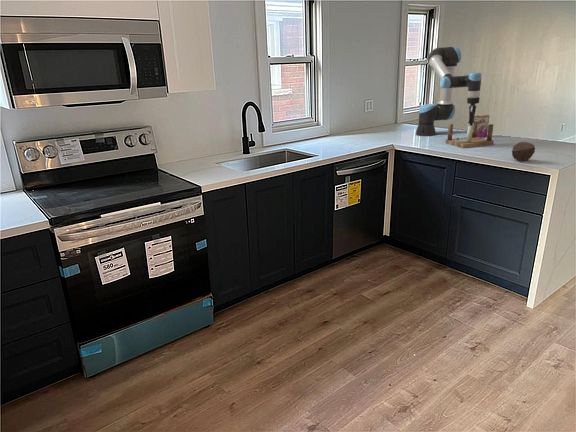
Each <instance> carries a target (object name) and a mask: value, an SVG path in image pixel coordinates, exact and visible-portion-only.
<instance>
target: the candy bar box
mask: <svg viewBox="0 0 576 432" xmlns="http://www.w3.org/2000/svg"><path fill="white" fill-rule="evenodd" d="M489 120H490V115H489V114H475V118H474V121H477V122H478V124H477V134H476V137H479V138H487V134H488V125H489Z"/></svg>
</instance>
